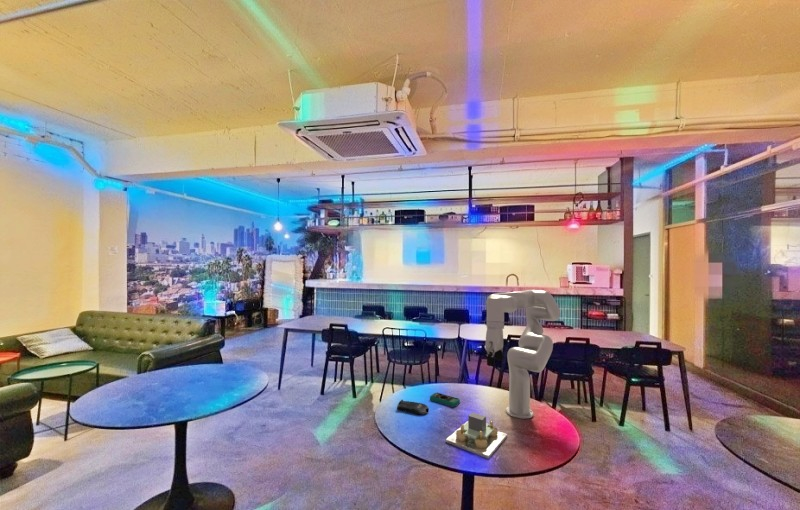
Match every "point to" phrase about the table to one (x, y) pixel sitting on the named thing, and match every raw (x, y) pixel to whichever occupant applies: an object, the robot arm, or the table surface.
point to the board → (475, 433)
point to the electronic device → (412, 407)
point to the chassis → (478, 441)
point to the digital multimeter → (444, 399)
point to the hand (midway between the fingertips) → (494, 363)
